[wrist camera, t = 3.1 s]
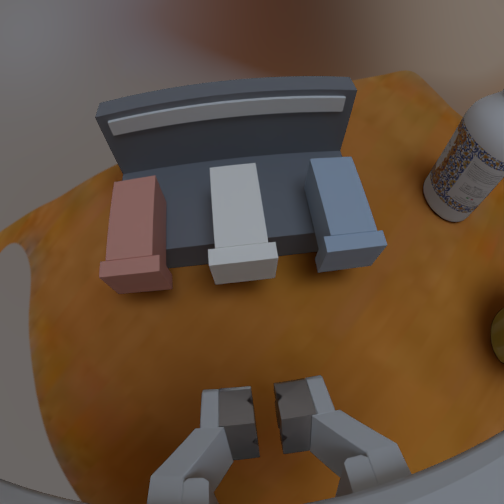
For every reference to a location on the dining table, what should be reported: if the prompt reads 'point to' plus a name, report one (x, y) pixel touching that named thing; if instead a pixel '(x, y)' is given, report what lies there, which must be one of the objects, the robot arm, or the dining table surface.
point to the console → (230, 150)
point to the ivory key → (239, 227)
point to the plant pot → (498, 335)
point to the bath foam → (469, 161)
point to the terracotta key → (136, 238)
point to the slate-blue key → (341, 216)
